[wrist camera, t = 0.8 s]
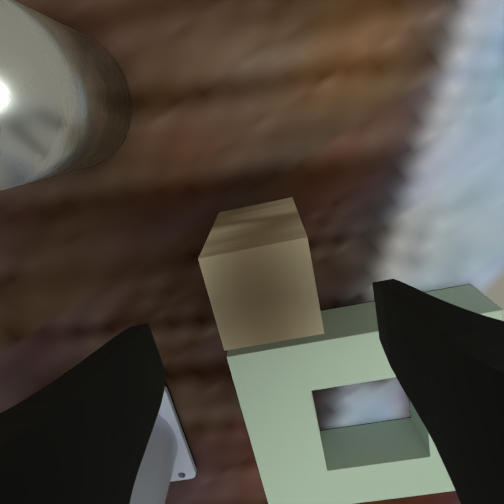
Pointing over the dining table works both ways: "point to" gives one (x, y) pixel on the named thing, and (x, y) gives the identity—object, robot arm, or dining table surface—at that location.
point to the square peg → (261, 276)
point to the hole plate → (341, 439)
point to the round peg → (55, 98)
